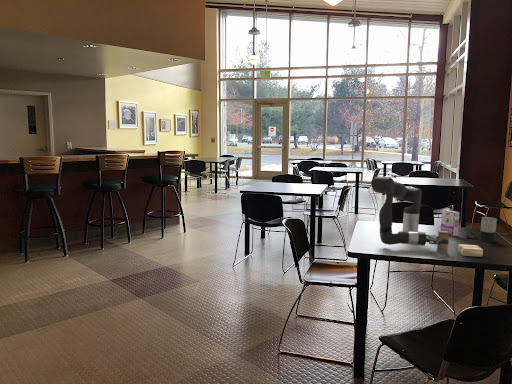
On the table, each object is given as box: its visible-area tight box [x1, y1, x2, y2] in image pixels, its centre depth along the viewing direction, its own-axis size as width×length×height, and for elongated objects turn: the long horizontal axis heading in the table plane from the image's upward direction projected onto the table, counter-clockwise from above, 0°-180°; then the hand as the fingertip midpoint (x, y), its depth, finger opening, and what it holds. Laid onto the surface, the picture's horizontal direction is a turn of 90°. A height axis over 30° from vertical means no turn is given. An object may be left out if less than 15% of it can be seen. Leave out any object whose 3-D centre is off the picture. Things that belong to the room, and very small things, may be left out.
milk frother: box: [465, 216, 498, 243], centre depth 271 cm, size 14×16×15 cm
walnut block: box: [436, 230, 450, 255], centre depth 236 cm, size 4×4×12 cm
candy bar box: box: [440, 209, 461, 237], centre depth 284 cm, size 11×5×16 cm, turn 21°
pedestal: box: [457, 243, 484, 258], centre depth 235 cm, size 10×10×4 cm
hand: (446, 240), depth 235 cm, fingers open, 8 cm apart
